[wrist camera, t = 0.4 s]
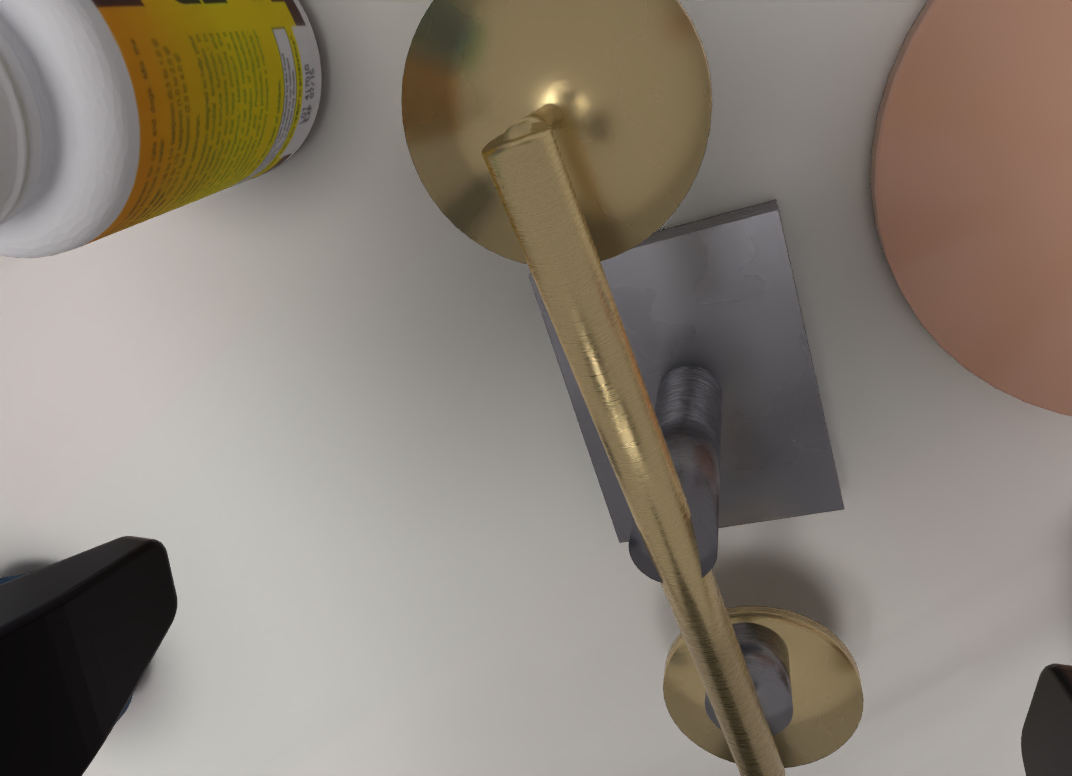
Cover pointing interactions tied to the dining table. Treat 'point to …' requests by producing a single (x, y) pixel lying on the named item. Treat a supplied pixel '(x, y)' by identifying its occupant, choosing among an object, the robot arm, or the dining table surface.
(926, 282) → the dish
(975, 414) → the dining table surface
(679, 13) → the balance
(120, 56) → the supplement bottle
